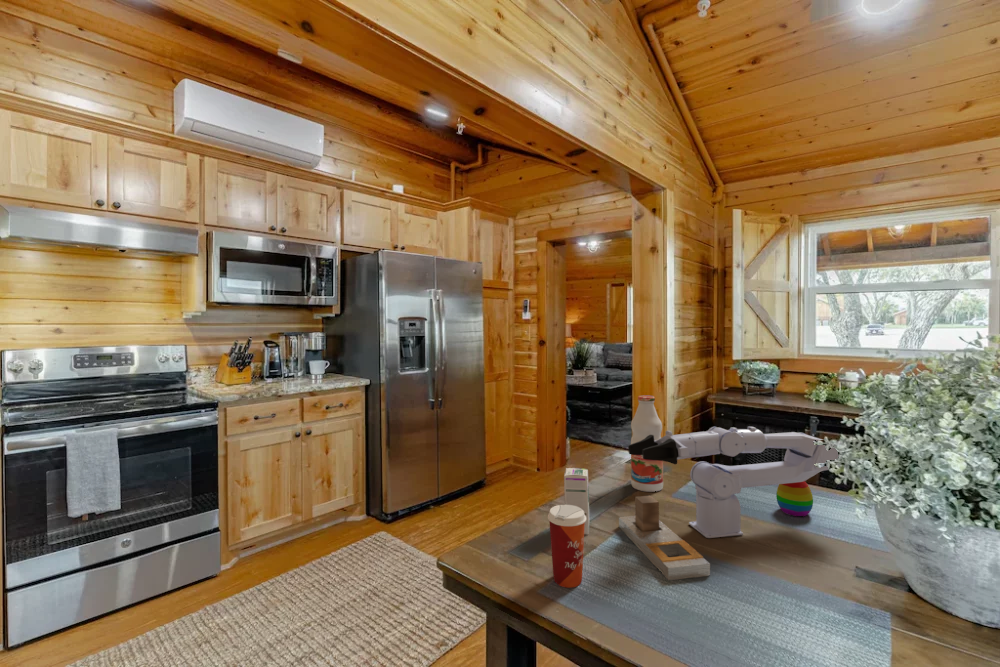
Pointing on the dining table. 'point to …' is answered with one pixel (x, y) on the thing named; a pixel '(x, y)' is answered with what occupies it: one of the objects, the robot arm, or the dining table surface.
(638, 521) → the walnut peg
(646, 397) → the fruit juice
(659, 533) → the grey rail
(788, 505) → the decorative egg
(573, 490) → the syrup box
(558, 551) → the paper cup
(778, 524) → the dining table surface
